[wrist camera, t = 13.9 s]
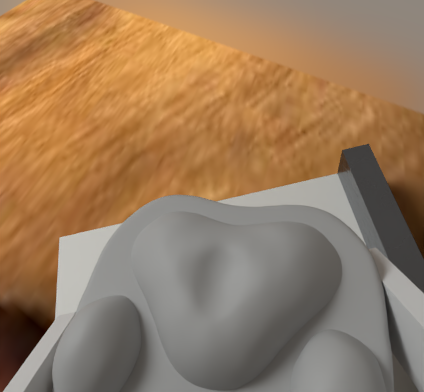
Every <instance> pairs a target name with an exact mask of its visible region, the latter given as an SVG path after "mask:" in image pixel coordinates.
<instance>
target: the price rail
mask: <svg viewBox="0 0 424 392" xmlns="http://www.w3.org/2000/svg"><path fill="white" fill-rule="evenodd" d="M337 174H338V176H339V179H340V181H341V184H342V186H343V189H344V191H345V194H346V196H347V199H348V201H349V204H350V206H351V209H352V211H353V214H354V216H355V219H356V221H357V224H358V226H359V229H360V231H361V234H362V236H363V239H364V241H365V244H366V246H367V248H368V249H372V248H377V249H378V250H379V251H380V252H381V253H382V254H383V255H384V256H385V257H386V258H387V259H388V260H389V261H390V262H391V263H392V264H393V265H395V266H396V267H397V268H398V269H399V270H400V271H401V272H402V273H403V274H404V275H405V276H406V277H407V278H408V279H409V280H410V281H411V282H412V283H413V284H414V285H415V286H416V287H418V288H419V289H420V290H421V291H422V292H423V293H424V259H423V257H422V255H421V253H420V251H419V249H418V246H417V244H416V242H415V240H414V238H413V236H412V234H411V232H410V230H409V228H408V225H407V223H406V221H405V219H404V217H403V215H402V213H401V211H400V209H399V207H398V205H397V202H396V200H395V198H394V196H393V194H392V192H391V190H390V188H389V186H388V184H387V181H386V179H385V177H384V175H383V173H382V171H381V169H380V167H379V165H378V163H377V161H376V158H375V156H374V154H373V152H372V150H371V148H370V146H369V144H366V145H362V146H358V147H354V148H349V149H345V150H342V154H341V158H340V163H339V168H338V173H337Z"/></svg>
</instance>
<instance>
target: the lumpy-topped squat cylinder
mask: <svg viewBox="0 0 424 392" xmlns="http://www.w3.org/2000/svg"><path fill="white" fill-rule="evenodd" d="M52 378H53V389H52V392H394V376H393V362H392V351H391V344H390V339H389V330H388V320H387V311H386V304H385V297H384V290H383V286H382V282H381V278H380V274H379V271H378V268H377V265H376V263H375V260H374V258H373V256H372V254H371V252H370V251H369V249H368V248H367V246H366V245H365V243H364V242H363V241H362V240H361V239H360V237H359V236H358V235H357V234H356V233H355V232H354V231H353V230H352V229H351V228H350V227H349V226H347V225H346V224H345V223H344V222H343V221H341V220H340V219H339V218H337V217H336V216H334V215H332V214H331V213H329V212H326V211H324V210H321V209H318V208H314V207H310V206H304V205H277V206H262V207H246V206H235V205H229V204H223V203H219V202H216V201H212V200H208V199H204V198H201V197H195V196H188V195H171V196H165V197H161V198H158V199H156V200H154V201H151V202H150V203H148V204H146V205H144V206H143V207H141V208H140V209H139V210H137V211H136V212H135V213H134V214H132V215H131V216H130V217H129V218H127V219H126V220H125V221H124V222H123V223H122V224H121V225H120V226H119V228H118V229H117V230H116V231H115V232H114V233H113V235H112V236H111V238H110V239H109V240H108V242H107V244H106V245H105V247H104V249H103V250H102V252H101V254H100V256H99V259H98V261H97V263H96V265H95V267H94V270H93V272H92V275H91V277H90V279H89V282H88V284H87V287H86V289H85V291H84V293H83V295H82V297H81V300H80V302H79V305H78V307H77V310H76V313H75V316H74V317H73V319H72V320H71V321H70V323H69V324H68V326H67V328H66V329H65V331H64V333H63V335H62V337H61V339H60V341H59V344H58V346H57V349H56V352H55V356H54V361H53V368H52Z"/></svg>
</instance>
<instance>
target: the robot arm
mask: <svg viewBox="0 0 424 392" xmlns="http://www.w3.org/2000/svg"><path fill="white" fill-rule="evenodd" d="M369 251H370V252H371V254H372V256H373V258H374V260H375V263H376V265H377V268H378V271H379V274H380V278H381V282H382V286H383V290H384V297H385V304H386V311H387V320H388V330H389V339H390V344H391V351H392V353H393V354H394V356H395V357H396V359H397V360H398V361H399V363H400V364H401V366H402V367H403V369H404V370H405V372H406V373H407V375H408V376H409V378H410V379H411V381H412V382H413V384H414V385H415V386H416V388H417V389H418V391H419V392H424V293H423V292H422V291H421V290H420V289H419V288H418V287H416V286H415V285H414V284H413V283H412V282H411V281H410V280H409V279H408V278H407V277H406V276H405V275H404V274H403V273H402V272H401V271H400V270H399V269H398V268H397V267H396V266H395V265H393V264H392V263H391V262H390V261H389V260H388V259H387V258H386V257H385V256H384V255H383V254H382V253H381V252H380V251H379V250H378V249H377V248H372V249H369ZM75 313H76V312H73V313H68V314H63V315H59V316H58V317H57V318H56V320H55V321H54V322H53V324H52V325H51V326H50V328H49V329H48V331H47V332H46V333H45V335H44V336H43V337H42V339H41V340H40V342H39V343H38V344H37V346H36V347H35V348H34V350H33V351H32V353H31V354H30V355H29V357H28V358H27V359H26V361H25V362H24V364H23V365H22V366H21V368H20V369H19V370H18V372H17V373H16V375H15V376H14V377H13V379H12V380H11V381H10V383H9V384H8V386H7V387H6V388H5V390H4V391H3V392H52V389H53V378H52V368H53V361H54V356H55V352H56V349H57V346H58V344H59V341H60V339H61V337H62V335H63V333H64V331H65V329H66V328H67V326H68V324H69V323H70V321H71V320H72V319H73V317H74V316H75Z"/></svg>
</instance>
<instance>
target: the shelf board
mask: <svg viewBox="0 0 424 392" xmlns="http://www.w3.org/2000/svg"><path fill="white" fill-rule="evenodd" d="M217 202H219V203H223V204H229V205H235V206H246V207H262V206H277V205H304V206H310V207H314V208H318V209H321V210H324V211H326V212H329V213H331V214H332V215H334V216H336V217H337V218H339V219H340V220H341V221H343V222H344V223H345V224H346V225H347V226H349V227H350V228H351V229H352V230H353V231H354V232H355V233H356V234H357V235H358V236H359V237H360V239H361V240H362V241H363V242H364V243H365V241H364V239H363V236H362V234H361V231H360V229H359V226H358V224H357V221H356V219H355V216H354V214H353V211H352V209H351V206H350V204H349V201H348V199H347V196H346V194H345V191H344V189H343V186H342V184H341V181H340V179H339V176H338V174H334V175H329V176H325V177H321V178H316V179H312V180H308V181H303V182H299V183H295V184H290V185H286V186H282V187H277V188H273V189H269V190H264V191H260V192H256V193H251V194H247V195H243V196H238V197H234V198H230V199H225V200H221V201H217ZM121 224H122V223H121ZM121 224H117V225H112V226H108V227H104V228H99V229H95V230H91V231H86V232H82V233H78V234H73V235H69V236H65V237H60V242H59V260H58V278H57V296H56V314H55V320H56V318H57V317H58V316H59V315H63V314H68V313H73V312H76V310H77V307H78V305H79V302H80V300H81V297H82V295H83V293H84V291H85V289H86V287H87V284H88V282H89V279H90V277H91V275H92V272H93V270H94V267H95V265H96V263H97V261H98V259H99V256H100V254H101V252H102V250H103V249H104V247H105V245H106V244H107V242H108V240H109V239H110V238H111V236H112V235H113V233H114V232H115V231H116V230H117V229H118V228H119V226H120V225H121ZM365 245H366V244H365ZM392 362H393V376H394V392H419V391H418V389H417V388H416V386H415V385H414V384H413V382H412V381H411V379H410V378H409V376H408V375H407V373H406V372H405V370H404V369H403V367H402V366H401V364H400V363H399V361H398V360H397V359H396V357H395V356H394V354H393V353H392Z"/></svg>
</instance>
